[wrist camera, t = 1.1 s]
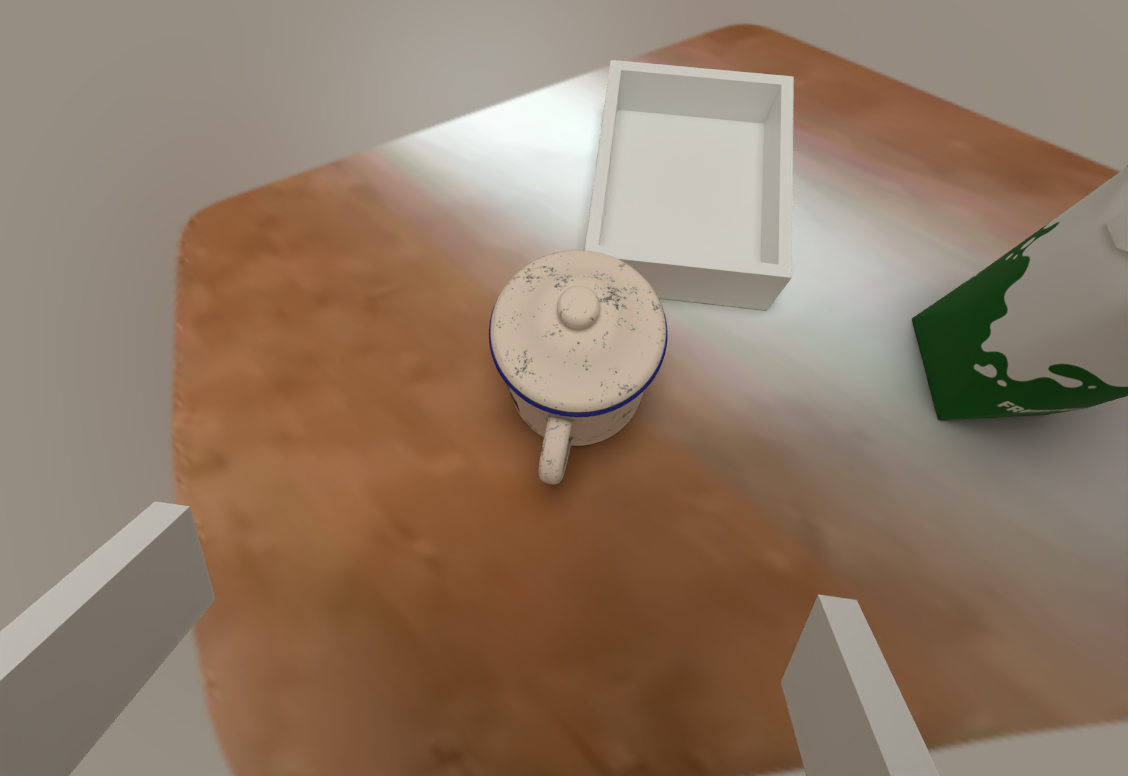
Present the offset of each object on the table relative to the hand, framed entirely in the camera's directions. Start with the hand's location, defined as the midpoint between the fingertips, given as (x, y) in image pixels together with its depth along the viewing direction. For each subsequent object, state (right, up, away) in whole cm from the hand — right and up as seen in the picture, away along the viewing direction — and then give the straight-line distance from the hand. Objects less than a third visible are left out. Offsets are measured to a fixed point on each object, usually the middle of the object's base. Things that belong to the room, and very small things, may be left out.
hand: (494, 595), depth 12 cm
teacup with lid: (+2, +3, +24) cm, 25 cm away
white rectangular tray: (+10, +18, +28) cm, 35 cm away
